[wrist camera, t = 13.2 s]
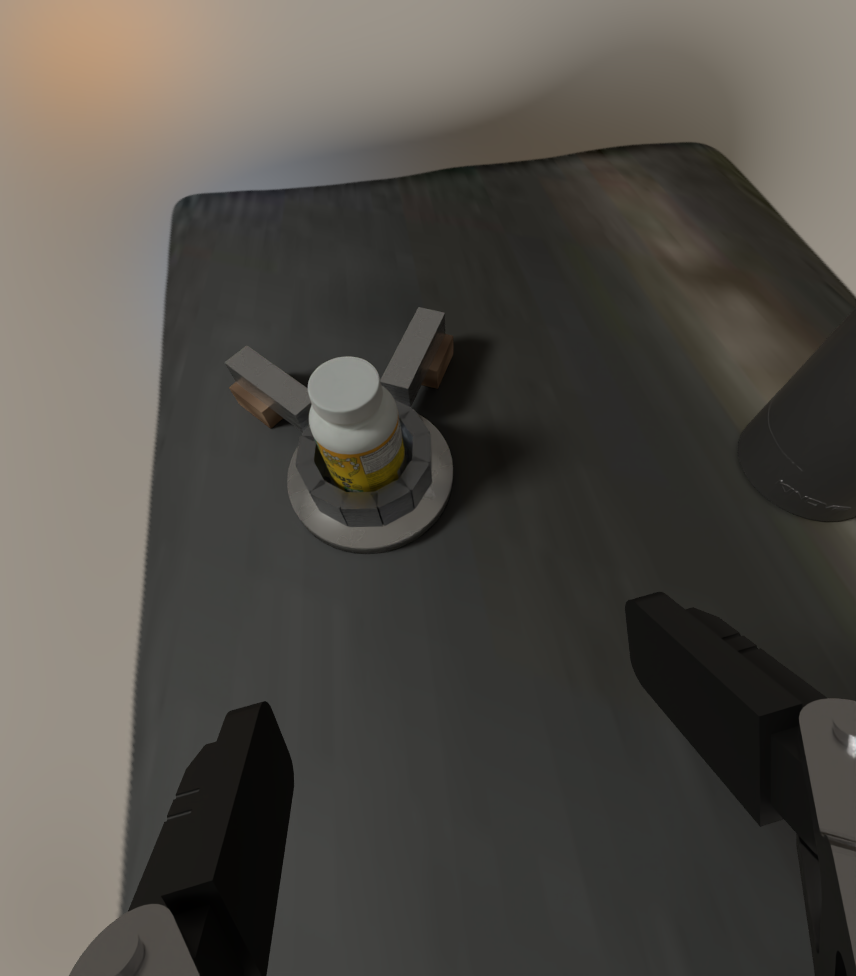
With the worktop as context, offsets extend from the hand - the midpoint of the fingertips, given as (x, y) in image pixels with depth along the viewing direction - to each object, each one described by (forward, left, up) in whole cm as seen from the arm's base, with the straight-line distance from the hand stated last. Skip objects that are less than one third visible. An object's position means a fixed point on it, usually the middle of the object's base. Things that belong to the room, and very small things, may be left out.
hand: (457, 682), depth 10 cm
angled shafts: (-18, -20, -18) cm, 32 cm away
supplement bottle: (-11, -13, -19) cm, 25 cm away
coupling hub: (-11, -13, -20) cm, 26 cm away
